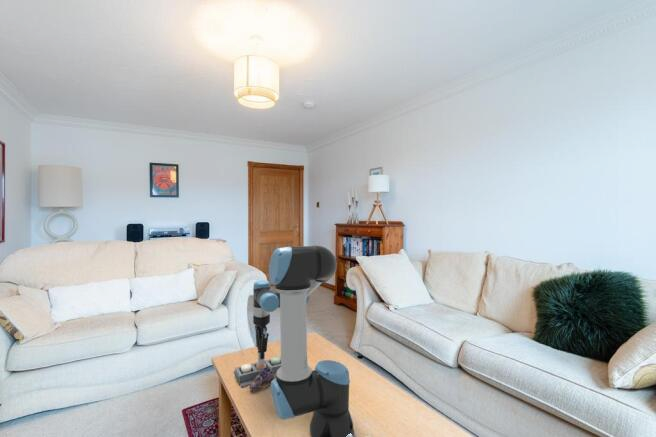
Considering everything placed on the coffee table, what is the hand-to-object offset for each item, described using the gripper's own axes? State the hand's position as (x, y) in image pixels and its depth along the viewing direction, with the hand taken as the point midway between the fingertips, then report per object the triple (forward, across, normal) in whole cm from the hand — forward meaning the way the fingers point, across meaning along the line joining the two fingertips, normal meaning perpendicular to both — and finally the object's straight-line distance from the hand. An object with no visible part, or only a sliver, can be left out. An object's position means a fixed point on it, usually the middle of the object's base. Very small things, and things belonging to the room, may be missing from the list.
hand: (261, 364), depth 141 cm
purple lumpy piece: (+4, -9, +3) cm, 11 cm away
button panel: (+4, 0, 0) cm, 4 cm away
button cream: (+2, 0, +7) cm, 7 cm away
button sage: (+2, 0, -7) cm, 7 cm away
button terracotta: (+3, 0, 0) cm, 3 cm away
